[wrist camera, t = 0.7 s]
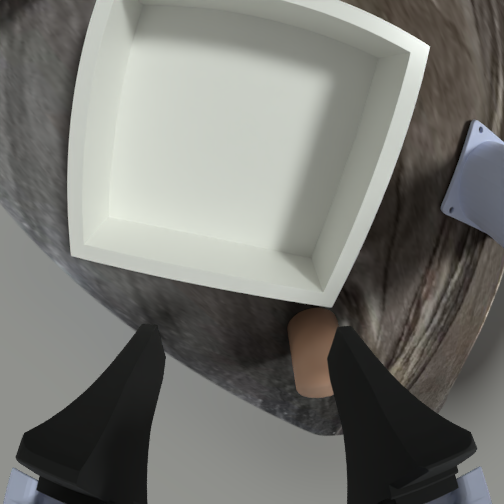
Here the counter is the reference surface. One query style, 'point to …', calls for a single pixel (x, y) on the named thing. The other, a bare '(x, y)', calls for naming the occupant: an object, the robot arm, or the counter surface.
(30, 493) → the robot arm
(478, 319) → the counter surface
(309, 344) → the peach cylinder
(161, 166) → the bin
